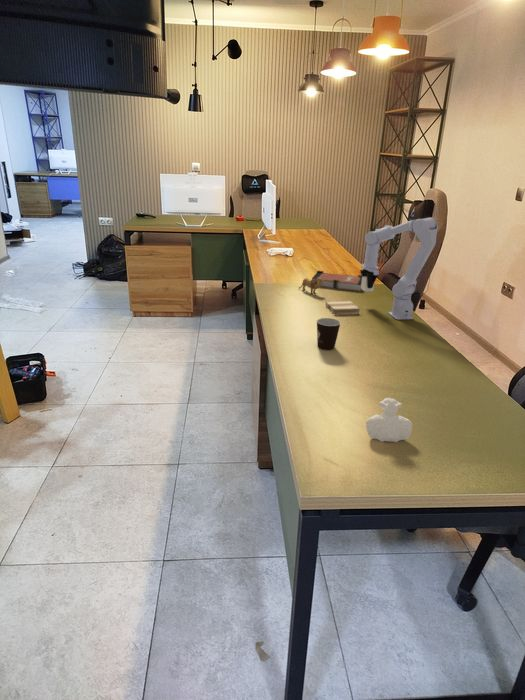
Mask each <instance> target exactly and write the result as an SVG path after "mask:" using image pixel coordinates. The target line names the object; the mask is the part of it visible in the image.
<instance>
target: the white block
mask: <svg viewBox="0 0 525 700" xmlns="http://www.w3.org/2000/svg"><path fill="white" fill-rule="evenodd" d="M374 287H375V283H374V284H373V287H372V288H368V287H367V276H362V282H361V290H362V291H363V292H374V290H375V288H374Z"/></svg>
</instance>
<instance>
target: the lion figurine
mask: <svg viewBox="0 0 525 700" xmlns="http://www.w3.org/2000/svg"><path fill="white" fill-rule="evenodd" d="M322 284H323V281H322V279H321V278H318V277H317V278H315V279H312V278H311V279H309V278H304V279H302V283H301V285H300V286H299V287H298V289H302V290H301V291H302V292H303V291H305V290H306V287H307V288H309V289H310V295H311V294H313V295H314V293H316V291H317V289H319V288H321V287H320V286H321V285H322ZM304 289H305V290H304Z"/></svg>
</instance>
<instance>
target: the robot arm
mask: <svg viewBox="0 0 525 700" xmlns="http://www.w3.org/2000/svg"><path fill="white" fill-rule="evenodd" d="M438 229H439V225H438V223H437V220H436V218H434V217H425V218H417V219H412V220H408V221H405V222H403V223H400V224H398V225H395V226H393V225H389V224H386V225H384V226H383V227H382V228H376V229H375V230H374V231H368V232H367V233H365V236H364V240H365V243H366V245H365V255H364V261H363V262H364V263H361V265H360V268H361V269H360V270H359V272H360V275H362V276H367V287H368V288H372V287H373V284H374V285H375V282H376V280H377V278H378V277H379V273H380V271H379V266H377V265H378V256H379V251H380V245H381V243H383V242H386V241H388V240H392V239H394V238H395V236H396V235H398V234H401V233H404V232H407V231H410V232H413V233H414V234H415V236H416V237H417V239H418V240H419V242H420V245H419V247H418V249H417V251H416V253H415V254H414V256H413V258H412V260H411V262H409V263H410V264H409V265H408V267H407V269H406V271H405V272H404V274H403V276H402V277H401V278H400V279H398V281H397V283H396V284H394V285H393V287H392V289H391V290H392V294H393V303H392V309H391V311H388V312H387V313H388V314H389V315H390V316H391V317H392V318H394V319H395V320H398V321H399V320H414V317H413V313H414V311H413V310H414V303H413V301H412V295H413V294H414V293H415V291H416V285H417V283H418V281H417V279H418V276H419V275H420V274H421V271H422V269H423V267H424V266H425V264H426V263H427V262H428V261H427V260H428V259H429V258H430V257H429V256H430V255H431V253H432V251H433V250H434V249H435V246H436V243H437V235H438V234H437V231H438Z"/></svg>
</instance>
